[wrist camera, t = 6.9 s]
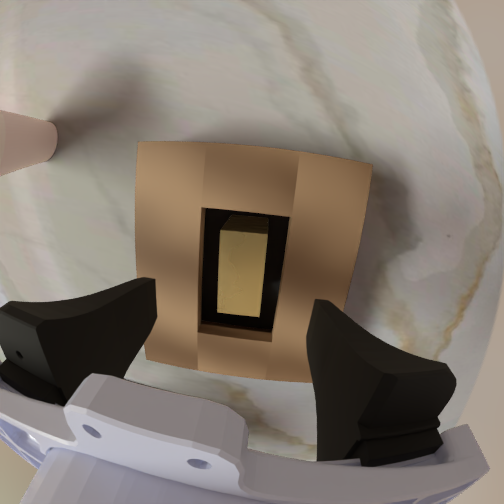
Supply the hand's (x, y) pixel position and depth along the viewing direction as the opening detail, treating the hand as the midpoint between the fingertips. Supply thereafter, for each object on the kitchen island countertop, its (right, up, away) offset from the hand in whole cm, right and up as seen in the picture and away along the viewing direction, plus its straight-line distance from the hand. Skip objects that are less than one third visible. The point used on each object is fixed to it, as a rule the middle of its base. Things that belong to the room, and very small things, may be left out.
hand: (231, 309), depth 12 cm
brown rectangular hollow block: (+1, +3, +7) cm, 8 cm away
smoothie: (-17, +12, +6) cm, 22 cm away
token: (+1, +3, +8) cm, 8 cm away
